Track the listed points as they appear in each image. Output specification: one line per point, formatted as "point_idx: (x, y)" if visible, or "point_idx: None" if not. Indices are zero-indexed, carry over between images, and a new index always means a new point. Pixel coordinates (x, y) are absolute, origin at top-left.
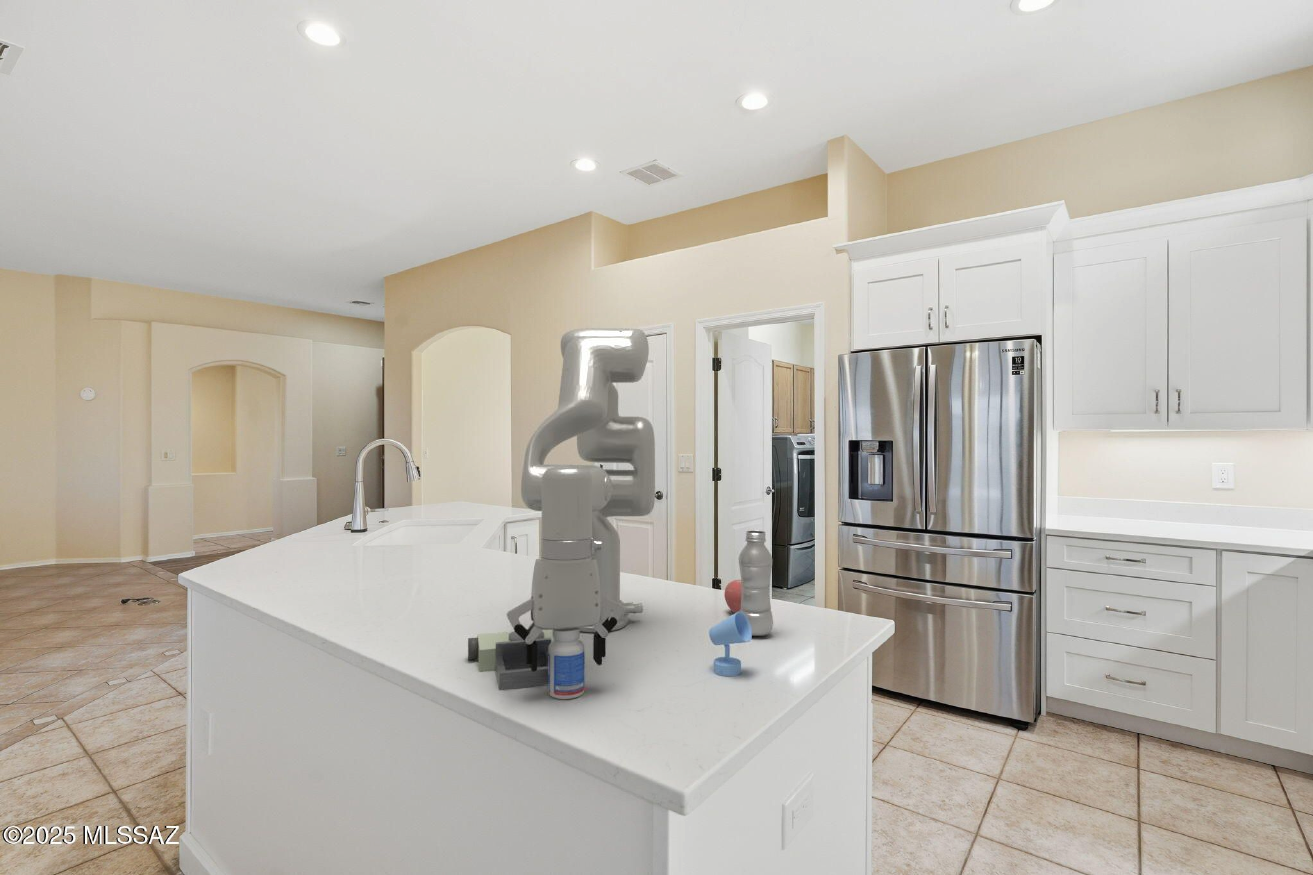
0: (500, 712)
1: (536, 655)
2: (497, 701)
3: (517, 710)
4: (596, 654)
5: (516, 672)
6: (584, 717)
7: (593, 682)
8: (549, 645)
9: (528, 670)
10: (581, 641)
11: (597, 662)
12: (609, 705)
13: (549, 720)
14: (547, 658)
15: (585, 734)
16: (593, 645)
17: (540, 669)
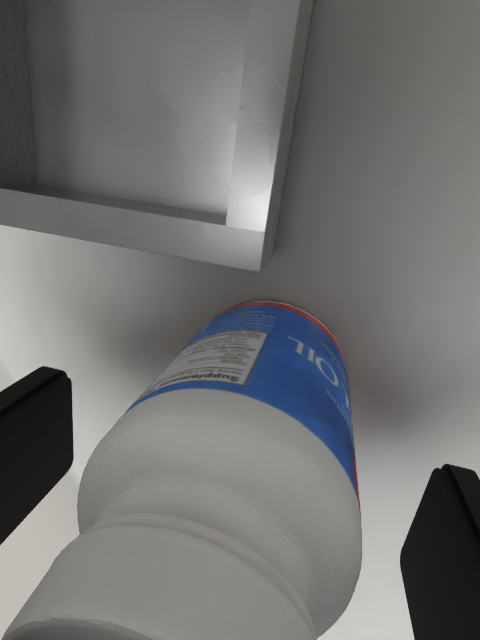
0: None
1: (10, 530)
2: (20, 316)
3: (78, 415)
4: (418, 595)
5: (37, 230)
6: None
7: (437, 317)
8: (78, 503)
9: (93, 239)
10: (338, 603)
11: (401, 571)
12: (370, 537)
13: None
14: (252, 13)
15: None
16: (466, 551)
17: (155, 252)
